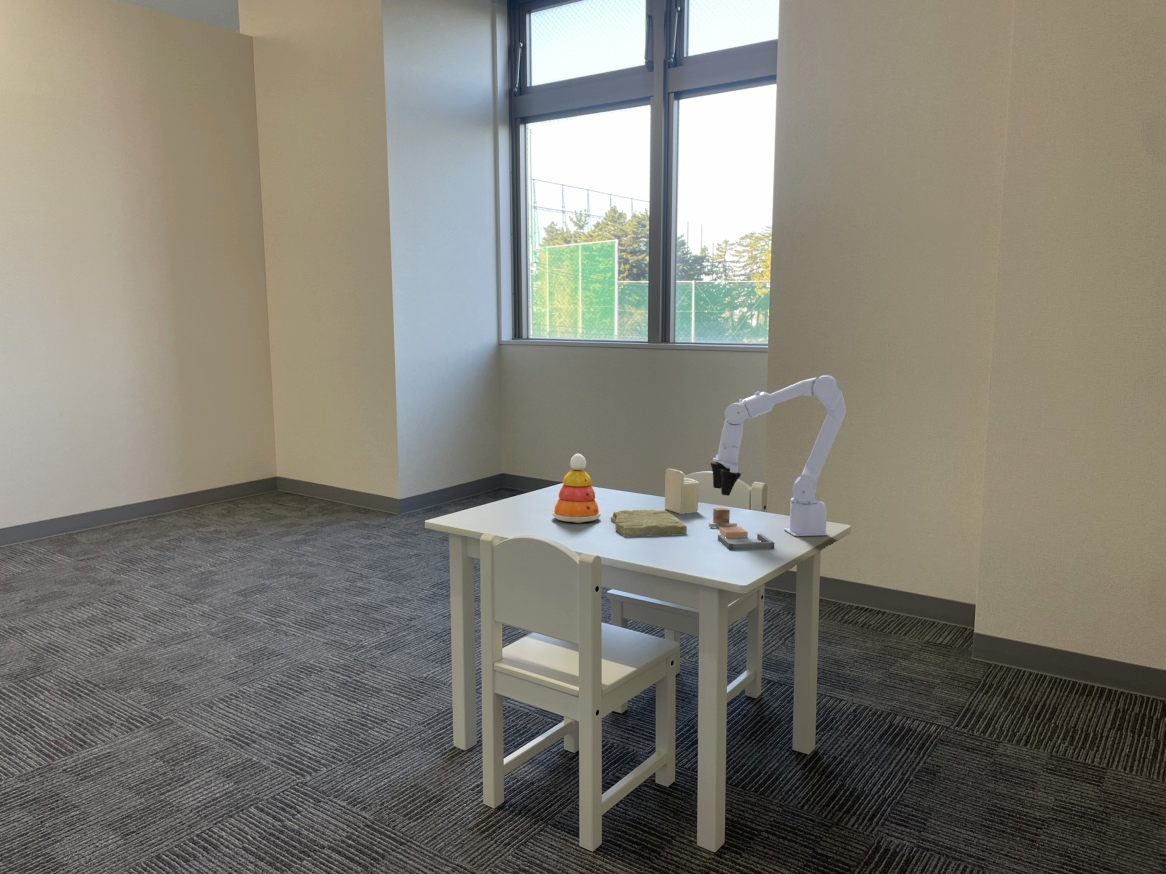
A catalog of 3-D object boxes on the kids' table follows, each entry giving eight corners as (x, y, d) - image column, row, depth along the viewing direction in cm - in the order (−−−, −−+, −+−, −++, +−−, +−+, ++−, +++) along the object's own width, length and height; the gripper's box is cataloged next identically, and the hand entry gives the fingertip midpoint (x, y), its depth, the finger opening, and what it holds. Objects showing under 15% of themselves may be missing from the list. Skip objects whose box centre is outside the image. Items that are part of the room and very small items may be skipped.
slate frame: (760, 540, 233) (760, 533, 233) (774, 550, 223) (774, 542, 223) (717, 542, 231) (717, 534, 231) (729, 551, 221) (729, 544, 221)
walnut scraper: (733, 524, 250) (733, 507, 249) (736, 527, 246) (737, 510, 246) (706, 525, 248) (706, 508, 248) (709, 528, 245) (710, 510, 244)
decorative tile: (666, 519, 257) (667, 508, 257) (687, 536, 238) (687, 523, 237) (605, 522, 254) (605, 510, 253) (621, 539, 234) (621, 526, 234)
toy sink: (700, 512, 266) (701, 470, 264) (680, 514, 262) (681, 472, 260) (683, 507, 273) (684, 466, 271) (664, 509, 269) (665, 467, 268)
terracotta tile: (740, 533, 240) (740, 526, 240) (747, 539, 234) (747, 531, 234) (719, 534, 240) (719, 527, 239) (726, 539, 234) (726, 532, 233)
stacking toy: (581, 527, 245) (581, 459, 242) (542, 520, 253) (542, 454, 251) (610, 518, 256) (611, 453, 253) (572, 512, 264) (572, 449, 262)
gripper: (709, 438, 249) (700, 483, 252) (724, 448, 235) (715, 496, 238) (732, 441, 251) (723, 486, 253) (748, 451, 237) (739, 499, 239)
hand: (721, 491), depth 245 cm, fingers open, 7 cm apart
